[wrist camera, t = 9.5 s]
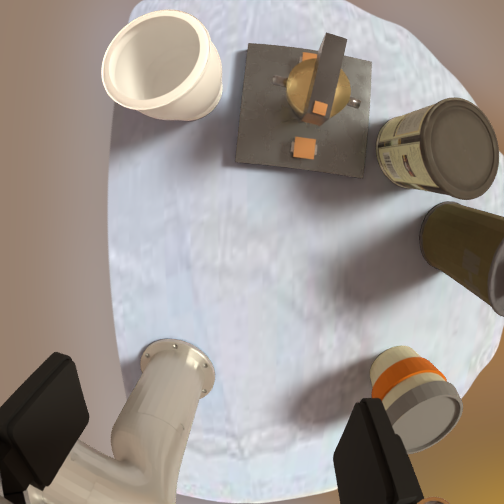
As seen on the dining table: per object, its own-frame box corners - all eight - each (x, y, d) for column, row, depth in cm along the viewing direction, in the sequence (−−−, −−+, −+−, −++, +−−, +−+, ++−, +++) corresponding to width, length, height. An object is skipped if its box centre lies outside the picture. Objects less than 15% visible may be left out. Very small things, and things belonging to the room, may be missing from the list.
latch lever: (363, 74, 27) (387, 52, 20) (349, 139, 29) (371, 132, 22) (281, 49, 26) (284, 20, 20) (263, 115, 28) (262, 100, 22)
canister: (411, 216, 39) (500, 255, 20) (464, 191, 38) (559, 213, 18) (428, 282, 42) (504, 348, 22) (477, 255, 40) (560, 302, 21)
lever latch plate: (358, 177, 38) (382, 181, 30) (236, 162, 39) (227, 160, 30) (367, 66, 34) (390, 44, 25) (249, 48, 34) (244, 20, 26)
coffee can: (449, 149, 36) (511, 147, 23) (414, 203, 39) (471, 220, 25) (399, 100, 35) (452, 77, 22) (360, 155, 38) (404, 151, 24)
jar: (175, 143, 38) (127, 132, 24) (142, 85, 36) (86, 53, 22) (245, 101, 37) (232, 65, 22) (207, 44, 34) (179, -9, 20)
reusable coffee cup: (424, 325, 44) (468, 378, 29) (426, 379, 46) (459, 434, 32) (354, 351, 45) (380, 416, 31) (364, 403, 48) (384, 465, 34)
